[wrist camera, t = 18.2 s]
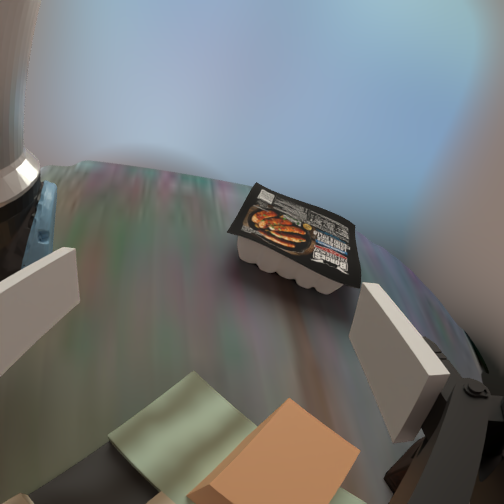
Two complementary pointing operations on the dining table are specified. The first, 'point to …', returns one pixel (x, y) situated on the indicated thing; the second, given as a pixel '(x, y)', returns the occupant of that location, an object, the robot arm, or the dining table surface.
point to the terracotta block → (281, 463)
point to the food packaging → (297, 241)
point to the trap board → (158, 453)
